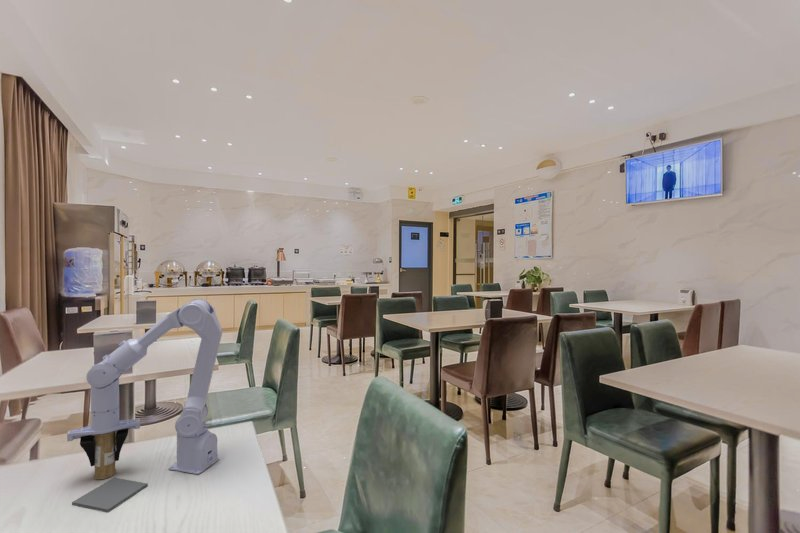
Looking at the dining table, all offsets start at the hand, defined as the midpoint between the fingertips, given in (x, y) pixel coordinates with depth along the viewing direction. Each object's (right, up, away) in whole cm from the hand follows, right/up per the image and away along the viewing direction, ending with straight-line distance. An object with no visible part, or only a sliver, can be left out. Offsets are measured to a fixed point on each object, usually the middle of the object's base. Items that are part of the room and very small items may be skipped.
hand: (105, 461), depth 98 cm
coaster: (+7, -4, -8) cm, 11 cm away
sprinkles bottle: (0, -4, 0) cm, 4 cm away
